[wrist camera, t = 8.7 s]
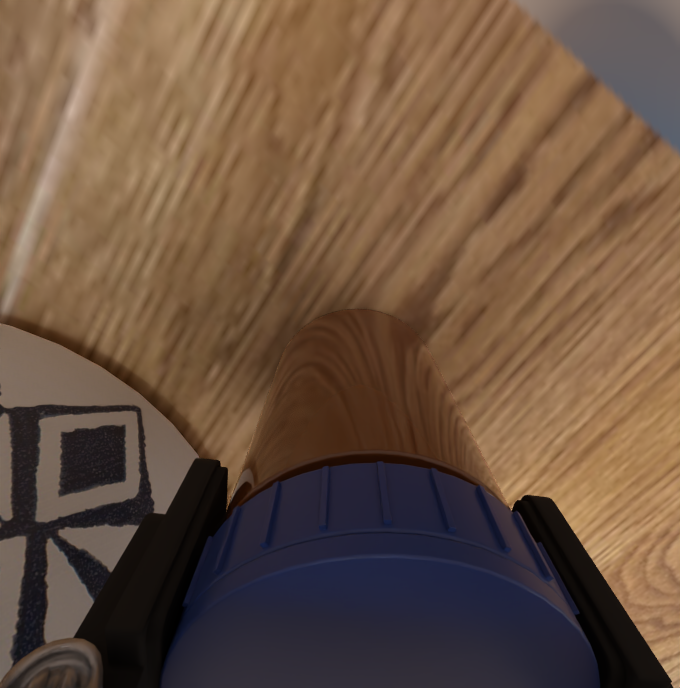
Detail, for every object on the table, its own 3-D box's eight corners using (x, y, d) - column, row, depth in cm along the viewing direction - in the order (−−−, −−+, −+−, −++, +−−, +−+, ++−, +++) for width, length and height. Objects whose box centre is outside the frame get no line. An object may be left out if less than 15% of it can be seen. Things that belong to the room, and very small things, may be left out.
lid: (121, 573, 8) (58, 684, 6) (425, 384, 6) (457, 461, 5) (334, 739, 10) (333, 859, 8) (604, 627, 8) (673, 744, 7)
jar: (375, 274, 15) (434, 443, 5) (465, 398, 17) (629, 690, 7) (243, 369, 17) (102, 638, 7) (340, 474, 19) (337, 800, 9)
